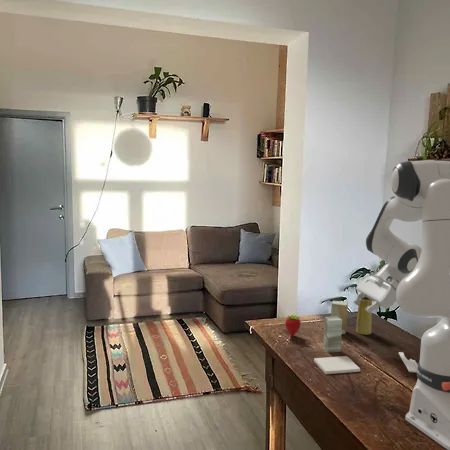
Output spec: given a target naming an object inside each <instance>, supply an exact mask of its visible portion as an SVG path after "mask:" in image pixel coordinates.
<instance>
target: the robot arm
mask: <svg viewBox="0 0 450 450" xmlns="http://www.w3.org/2000/svg"><path fill="white" fill-rule="evenodd" d="M390 184H391V185H390V186H391V188H392V192H393V193H394V194H395V196H391V197H390V198H388V199H387V200H386V201H385V203H384V204H383V206H382V207H381V209H380V211H379V214H378V216H377V218H376V220H375V222H374V224H373V227H372V228H371V230H370V232H369V233H368V235H367V237H366V238H365V246H366V249H367V250H368V251H369V252H370V253H372V254H373V255H375V256H377V257H378V258H380V259H381V260H382V261H384V262H385V264H384V265H383V266H382V267H381V268H380V269H379V270H378V272H376V273H375V274H373V275H368V276H367V277H365V278H364V279H363V280H361V281H360V282H359V283H358V284H357V286H356V288H355V289H356V291H358V293H357V295H356V297H355V299H353V303H354V304H355V305H356V306H358V305H359V304H360V303H361V302H360V301H361V299H362V298H364V297H367V298H368V299H370V300H372V305H371V306H370V307H369V306H368V307H367V308H366V309H365V310H366V311H367V312H368V313H371V312H372V313H373V311H375V310H377V309H379V308H380V307H382V308H384V309H389V308H391V307H393V305H394V304H395V303H396V302H397V304H398V306H399V308H400V309H401V310H402V311H403V313H404V314H406V315H409V316H414V317H419V318H427V319H428V318H430V319H431V318H434V319H435V318H437V319H438V318H440V320H439V321H438V322H437V323H436V324H435V325H434V326H432V327H430V328H428V329H427V330H426V331H425V332H423V335H422V336H421V339H420V349H419V351H420V354H419V361H418V362H417V364H418V367H417V372H416V376H417V380H416V383H415V385H414V387H413V389H412V394H411V398H410V399H411V400H410V405H409V411H408V412H407V413H406V414H405V418H404V419H405V420H406V421H407V422H408V423H410V424H411V425H412V426H413V427H415V428H417V429H418V430H419V431H420V432H422V433H424V434H425V435H426V436H428V437H429V438H430V439H431V440H432V441H433V440H434V441H435V442H436V443H437V444H439V445H440V446H442V447H443V448H445V449H446V450H450V161H449V160H435V159H425V160H415V161H410V160H407V161H403V162H399V163H397V164H396V165H395V166H394V168H393V169H392V174H391V176H390ZM394 219H395V220H399V221H402V222H406V223H407V222H408V223H411V222H418V221H421V222H422V225H421V226H422V228H421V229H422V230H421V231H422V233H421V235H422V236H421V239H422V241H421V247H420V246H419V245H418V244H417V243H413V242H409V243H407V242H406V241H405V240H403V239H402V238H400V237H398V236H397V235H395V234H394V233H393V231H391V230H390V227H391V224H392V222H393V220H394Z"/></svg>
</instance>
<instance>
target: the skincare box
mask: <svg viewBox="0 0 450 450" xmlns="http://www.w3.org/2000/svg"><path fill="white" fill-rule="evenodd" d="M348 305H349V301H348V302H347V301H341V300H340V301H338V300H332V302H331V308H330V309H331V310H330V317H332V316H338V317H339V318H340V319H342V335H346V331H347V323H348V321H347V319H348V308H349V307H348Z"/></svg>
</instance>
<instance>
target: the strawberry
mask: <svg viewBox="0 0 450 450" xmlns="http://www.w3.org/2000/svg"><path fill="white" fill-rule="evenodd" d="M301 325H302V324H301V317H299V316H297V315H295V313H293V314H291V315H288V316H287V317H286V319H285V328H286V330H287V332H288V333H289V335H290V337H292V338H293V337H294V336H296V334H297V332H299V330H300V327H301Z"/></svg>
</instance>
